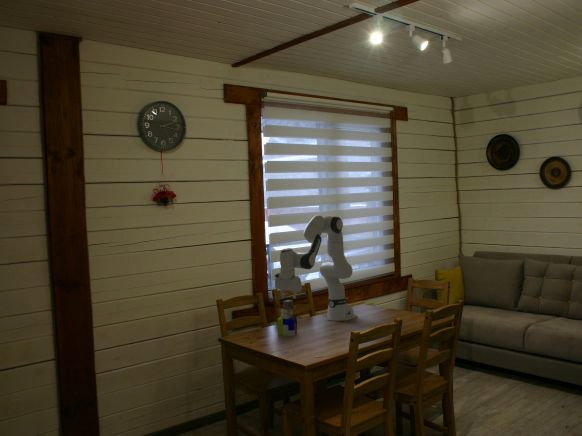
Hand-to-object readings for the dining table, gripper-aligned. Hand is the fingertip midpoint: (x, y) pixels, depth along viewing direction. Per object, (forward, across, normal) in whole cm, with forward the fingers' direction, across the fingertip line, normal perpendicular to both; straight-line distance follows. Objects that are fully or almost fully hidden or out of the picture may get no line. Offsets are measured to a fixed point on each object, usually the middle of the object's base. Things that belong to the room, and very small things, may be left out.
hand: (288, 297), depth 319 cm
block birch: (+12, +1, +1) cm, 13 cm away
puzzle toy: (+23, +1, +1) cm, 23 cm away
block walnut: (+7, 0, 0) cm, 7 cm away
